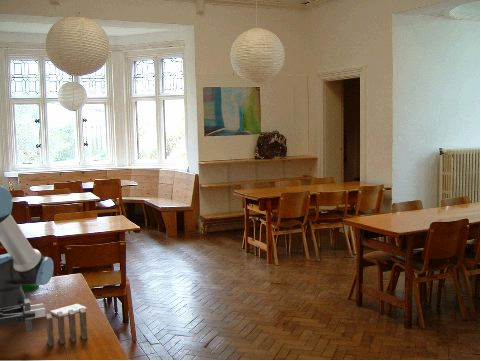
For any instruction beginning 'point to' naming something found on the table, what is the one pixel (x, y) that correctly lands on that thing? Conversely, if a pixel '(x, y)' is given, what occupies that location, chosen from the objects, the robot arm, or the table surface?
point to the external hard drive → (65, 309)
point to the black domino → (28, 321)
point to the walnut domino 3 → (72, 325)
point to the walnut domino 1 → (50, 329)
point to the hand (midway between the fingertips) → (44, 309)
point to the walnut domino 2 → (61, 327)
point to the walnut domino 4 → (83, 323)
